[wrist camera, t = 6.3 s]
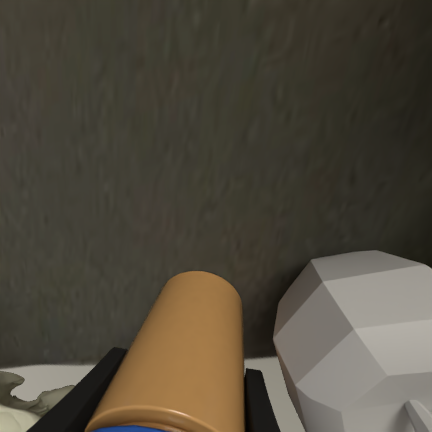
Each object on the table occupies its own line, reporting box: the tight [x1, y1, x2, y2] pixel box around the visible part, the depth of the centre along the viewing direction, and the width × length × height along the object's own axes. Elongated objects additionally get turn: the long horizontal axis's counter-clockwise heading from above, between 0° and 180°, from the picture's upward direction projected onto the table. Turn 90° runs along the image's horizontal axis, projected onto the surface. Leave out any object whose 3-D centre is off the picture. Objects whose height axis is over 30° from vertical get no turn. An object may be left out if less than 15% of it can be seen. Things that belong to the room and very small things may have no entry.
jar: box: [84, 271, 246, 432], centre depth 9 cm, size 5×5×8 cm
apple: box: [273, 250, 432, 432], centre depth 9 cm, size 8×8×7 cm
